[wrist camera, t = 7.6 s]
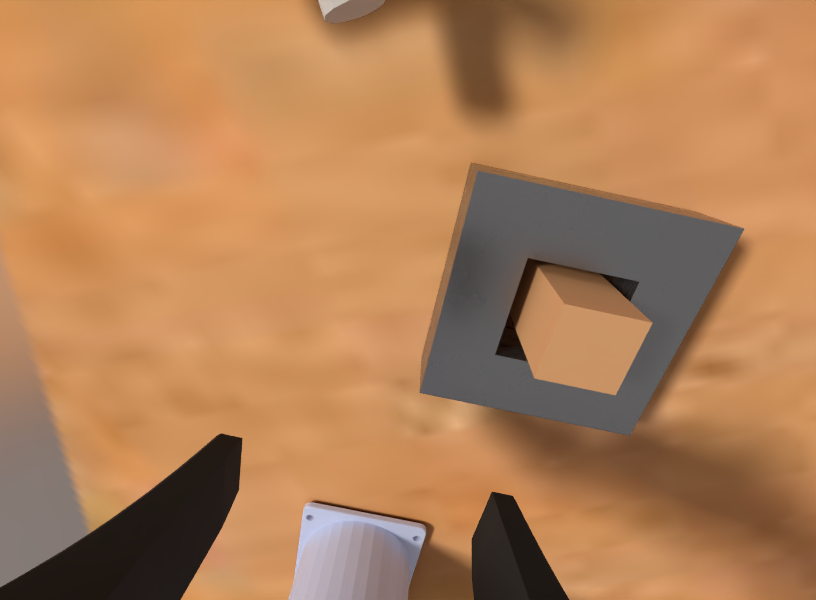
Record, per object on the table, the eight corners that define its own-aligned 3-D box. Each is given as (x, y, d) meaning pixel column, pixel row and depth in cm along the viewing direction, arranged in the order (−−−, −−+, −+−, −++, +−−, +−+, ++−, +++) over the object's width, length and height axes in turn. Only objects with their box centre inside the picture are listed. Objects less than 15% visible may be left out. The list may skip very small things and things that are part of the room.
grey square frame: (605, 395, 22) (629, 435, 19) (421, 358, 21) (419, 392, 19) (696, 211, 18) (744, 228, 15) (471, 162, 17) (477, 170, 15)
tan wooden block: (566, 320, 20) (615, 395, 15) (507, 307, 20) (534, 378, 14) (589, 264, 19) (652, 322, 13) (526, 250, 19) (564, 303, 13)
